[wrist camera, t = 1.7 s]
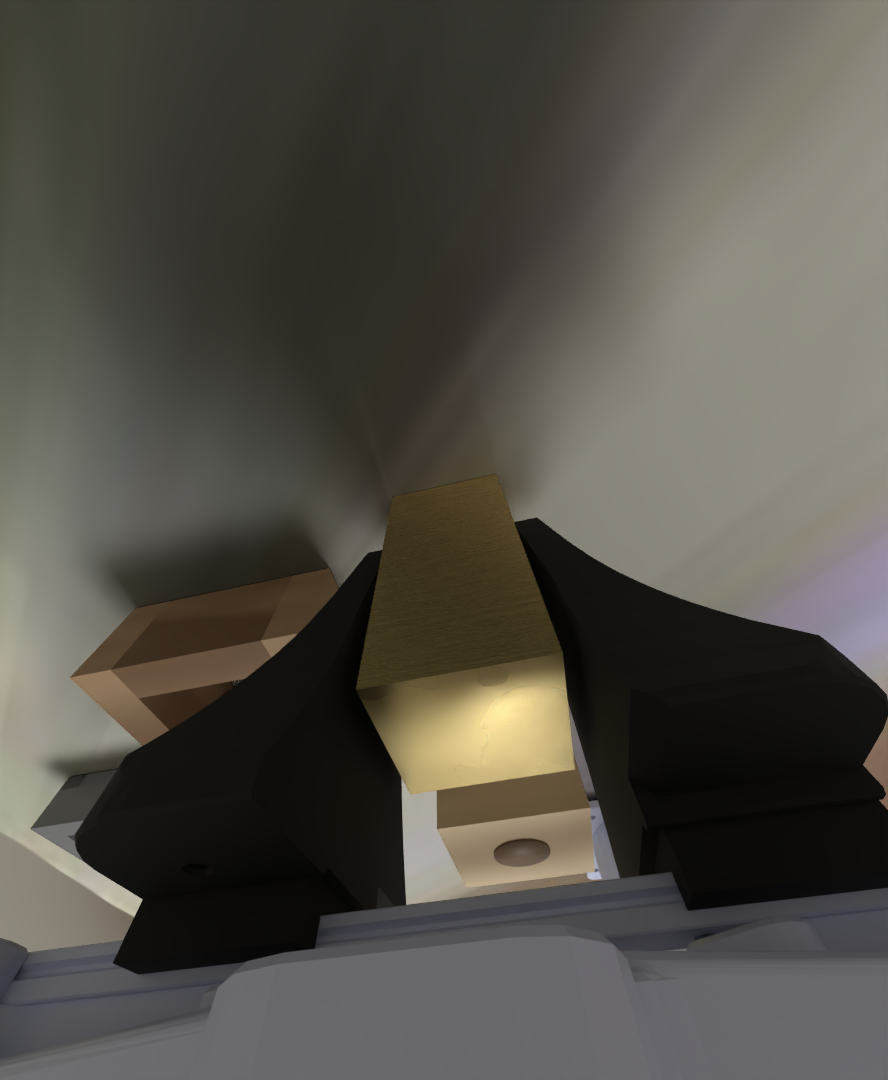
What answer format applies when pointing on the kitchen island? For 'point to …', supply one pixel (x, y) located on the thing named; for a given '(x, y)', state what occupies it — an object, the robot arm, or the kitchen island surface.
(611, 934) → the robot arm
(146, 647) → the brown rectangular frame
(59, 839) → the tray
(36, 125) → the kitchen island surface
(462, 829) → the block
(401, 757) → the gold rectangular block
